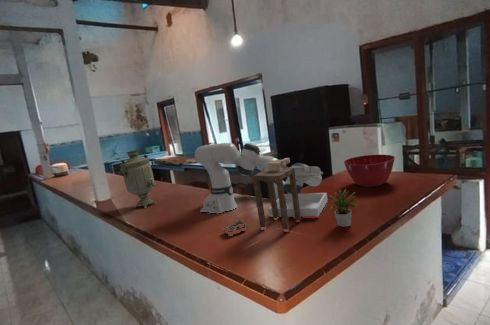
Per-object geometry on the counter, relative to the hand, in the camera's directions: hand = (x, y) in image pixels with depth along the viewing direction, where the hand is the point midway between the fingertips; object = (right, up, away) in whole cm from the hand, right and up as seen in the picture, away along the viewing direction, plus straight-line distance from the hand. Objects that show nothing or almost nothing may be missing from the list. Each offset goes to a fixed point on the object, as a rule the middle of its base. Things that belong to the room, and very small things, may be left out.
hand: (294, 168), depth 155 cm
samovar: (-94, -28, +61) cm, 116 cm away
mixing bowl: (+51, -10, +30) cm, 60 cm away
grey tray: (+4, -22, +6) cm, 23 cm away
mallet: (-8, 0, -9) cm, 12 cm away
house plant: (+17, -25, -23) cm, 38 cm away
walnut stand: (-8, -27, -11) cm, 30 cm away
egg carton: (-29, -30, -10) cm, 43 cm away
